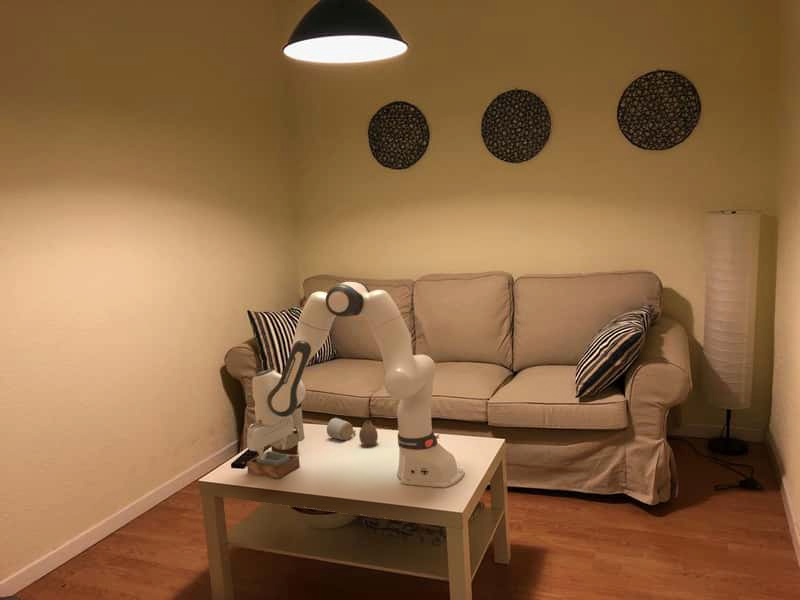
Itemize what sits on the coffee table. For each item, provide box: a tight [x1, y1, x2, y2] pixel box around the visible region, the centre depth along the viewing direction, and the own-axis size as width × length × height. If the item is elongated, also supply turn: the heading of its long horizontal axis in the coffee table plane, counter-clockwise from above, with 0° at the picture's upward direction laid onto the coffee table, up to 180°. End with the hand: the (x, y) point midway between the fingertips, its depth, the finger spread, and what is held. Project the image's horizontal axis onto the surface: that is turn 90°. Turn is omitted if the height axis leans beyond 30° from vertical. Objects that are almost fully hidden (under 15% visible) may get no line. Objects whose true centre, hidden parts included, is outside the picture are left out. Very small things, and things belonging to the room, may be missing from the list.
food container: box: [270, 425, 300, 456], centre depth 258 cm, size 12×6×10 cm, turn 84°
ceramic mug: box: [326, 417, 357, 441], centre depth 269 cm, size 11×8×8 cm
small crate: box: [255, 450, 290, 467], centre depth 242 cm, size 10×6×4 cm, turn 58°
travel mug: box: [291, 402, 305, 442], centre depth 271 cm, size 8×8×18 cm
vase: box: [358, 421, 379, 448], centre depth 259 cm, size 7×7×9 cm
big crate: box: [246, 450, 301, 480], centre depth 242 cm, size 14×12×4 cm
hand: (273, 454), depth 241 cm, fingers open, 8 cm apart
